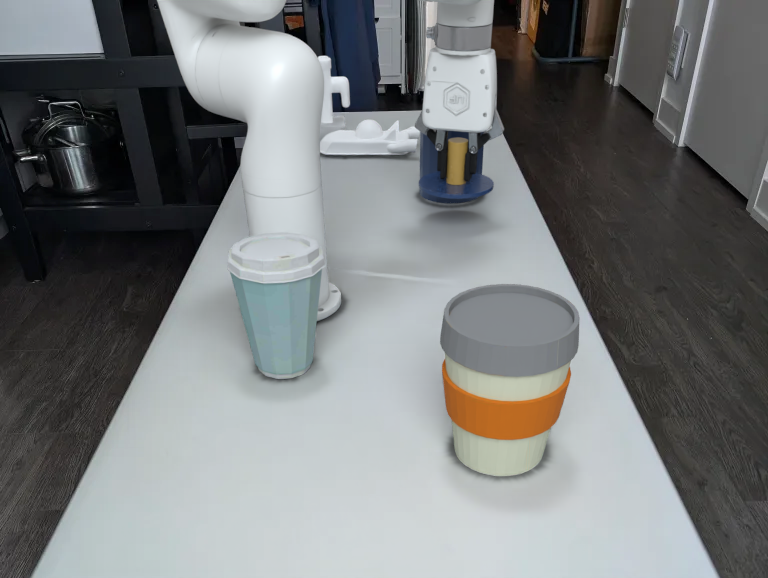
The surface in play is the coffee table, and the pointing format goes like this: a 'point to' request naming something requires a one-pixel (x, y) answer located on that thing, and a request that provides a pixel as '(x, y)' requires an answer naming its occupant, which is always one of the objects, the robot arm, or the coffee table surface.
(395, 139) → the plane toy
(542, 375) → the reusable coffee cup
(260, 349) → the disposable coffee cup
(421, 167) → the tin
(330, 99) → the white faucet
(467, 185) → the tin lid
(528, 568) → the coffee table surface
